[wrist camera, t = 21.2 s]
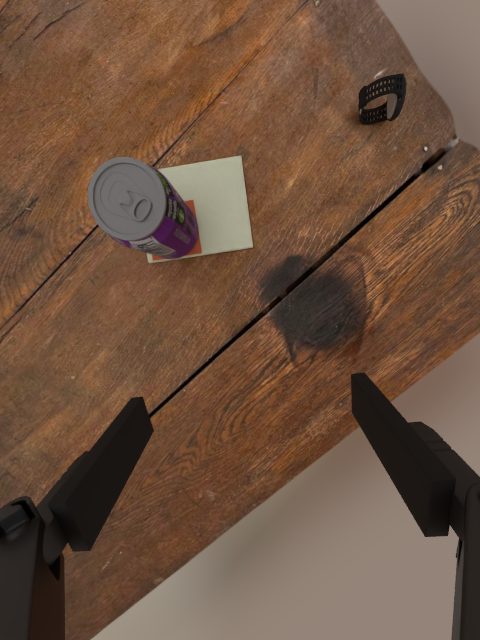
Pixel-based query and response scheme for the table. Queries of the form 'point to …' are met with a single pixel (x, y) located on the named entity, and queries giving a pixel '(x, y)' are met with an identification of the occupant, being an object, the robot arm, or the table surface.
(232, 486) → the table surface
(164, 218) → the beverage can
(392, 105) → the black strap with disc
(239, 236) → the mat
